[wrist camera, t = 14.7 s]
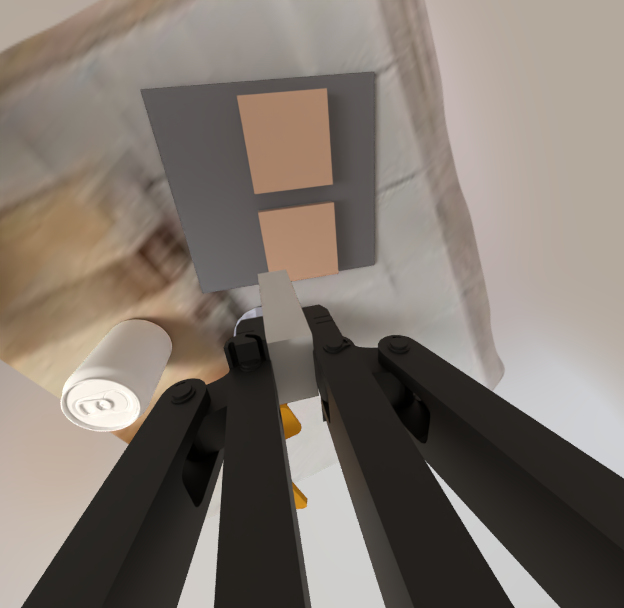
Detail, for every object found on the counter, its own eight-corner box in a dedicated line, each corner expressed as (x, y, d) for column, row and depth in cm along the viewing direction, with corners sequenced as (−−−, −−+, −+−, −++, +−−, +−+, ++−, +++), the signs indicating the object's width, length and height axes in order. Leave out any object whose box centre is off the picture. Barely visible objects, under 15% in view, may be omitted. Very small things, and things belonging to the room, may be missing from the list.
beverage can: (180, 359, 42) (156, 425, 31) (122, 370, 41) (77, 442, 30) (162, 312, 38) (128, 368, 28) (98, 322, 37) (37, 385, 27)
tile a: (254, 194, 31) (332, 184, 33) (236, 95, 27) (326, 88, 29) (254, 192, 33) (328, 183, 34) (237, 100, 29) (322, 93, 30)
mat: (203, 291, 38) (202, 293, 37) (142, 90, 28) (140, 89, 28) (372, 263, 41) (374, 265, 40) (372, 73, 31) (374, 71, 30)
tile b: (271, 284, 36) (338, 273, 38) (258, 212, 32) (333, 202, 34) (270, 278, 38) (334, 268, 39) (257, 210, 34) (329, 200, 35)
